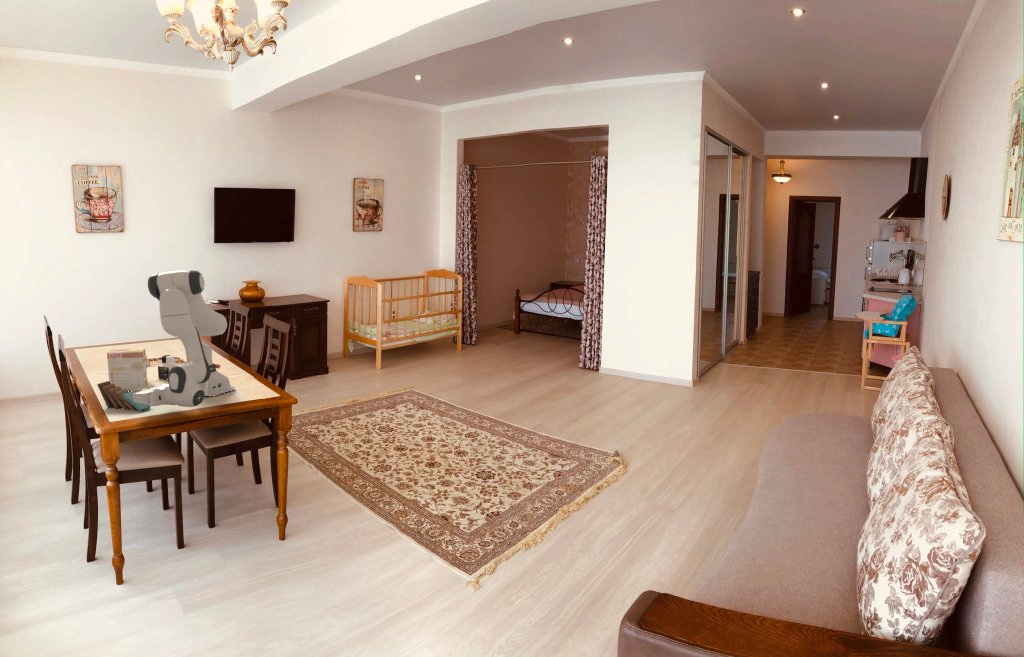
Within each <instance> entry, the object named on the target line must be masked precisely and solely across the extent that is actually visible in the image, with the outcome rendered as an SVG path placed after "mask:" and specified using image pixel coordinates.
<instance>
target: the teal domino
mask: <svg viewBox="0 0 1024 657" xmlns="http://www.w3.org/2000/svg"><path fill="white" fill-rule="evenodd" d="M134 393H135V391H134V392H133V391H132V392H129V393H125V394H123V396H122V397H123V398H124V399H125V400H126V401H128V402H129V403H130V404H131V405H133V406H134V407H135V408H137V409H136V410H137V411H139V412H140V411H142V412H144V411H147V410H150V409H151V407H152V406H150V404H140V403H136V402H134V401H133V394H134ZM149 408H150V409H149ZM146 409H147V410H146ZM143 410H144V411H143Z"/></svg>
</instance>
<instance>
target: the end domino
mask: <svg viewBox="0 0 1024 657" xmlns="http://www.w3.org/2000/svg"><path fill="white" fill-rule="evenodd" d="M109 384H111V383H110V381H109V380H107V381H103V382H100V383H98V384H97V387H98V390H99V391H100V394H101V396H102V398H103V400H104V403H105V404H106V407H107V408H110V407H114V405H113V404H112V402H111V401H110V399H109V398H108V396H107V395H106V393H105V392H104V390H103V389H102V387H103V386H105V385H109Z"/></svg>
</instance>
